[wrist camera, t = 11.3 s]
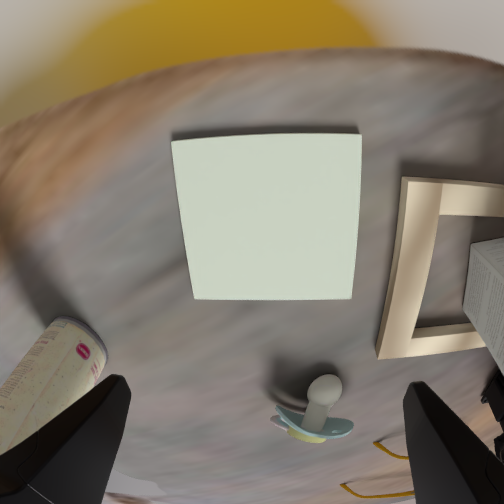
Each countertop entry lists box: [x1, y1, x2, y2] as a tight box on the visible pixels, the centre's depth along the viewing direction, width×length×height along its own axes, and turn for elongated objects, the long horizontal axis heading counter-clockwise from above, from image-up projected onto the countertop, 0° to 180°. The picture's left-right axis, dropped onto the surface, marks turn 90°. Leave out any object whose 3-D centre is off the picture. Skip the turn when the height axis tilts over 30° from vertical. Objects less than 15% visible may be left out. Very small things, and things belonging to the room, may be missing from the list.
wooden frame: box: [375, 176, 504, 359], centre depth 19 cm, size 17×14×1 cm
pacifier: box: [270, 374, 354, 443], centre depth 26 cm, size 7×6×6 cm
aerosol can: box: [0, 316, 108, 455], centre depth 19 cm, size 7×7×20 cm
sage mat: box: [171, 133, 362, 300], centre depth 20 cm, size 11×11×1 cm
